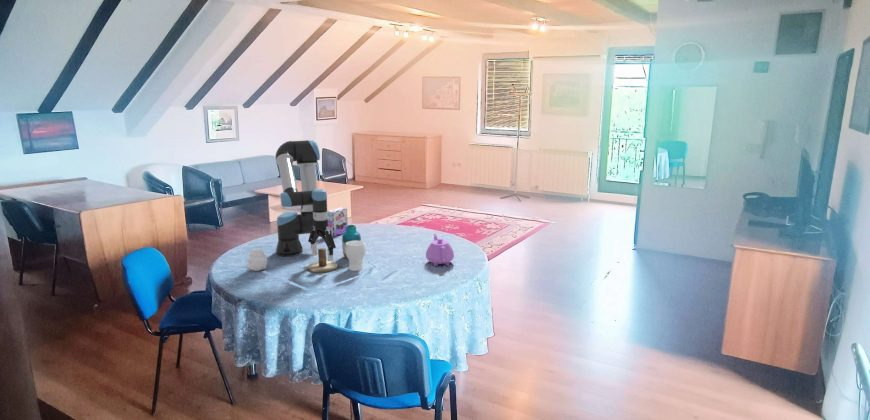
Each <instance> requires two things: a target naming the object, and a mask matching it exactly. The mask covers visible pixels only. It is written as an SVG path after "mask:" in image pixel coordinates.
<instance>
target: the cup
mask: <svg viewBox="0 0 870 420" xmlns="http://www.w3.org/2000/svg"><path fill="white" fill-rule="evenodd" d="M345 253H346V256H347V257H348V259H347V260H348V263H349V264H348V270H350V271H353V272H358V271H362V270H363V269H364V265H363V260H364V257H365V254H366V243H365V242H364V241H363V240H361V241H357V240H356V241H349V242H347V243H346V246H345Z"/></svg>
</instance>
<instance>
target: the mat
mask: <svg viewBox="0 0 870 420" xmlns="http://www.w3.org/2000/svg"><path fill="white" fill-rule="evenodd" d="M308 266H309V265H307V266H304V267H303V266H302V267H301V269H303V270H305V271H307V272H310V273H312V274H315V275H318V276H322V275H325V274H327V273H331V272H334V271H337V270H339V269H343V268H345V266H342V265H339V264H337V268H336V269H335V270H333V271H329V272H322V273H318V272H312V271H310V270H309V269H308Z"/></svg>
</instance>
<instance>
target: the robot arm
mask: <svg viewBox="0 0 870 420" xmlns="http://www.w3.org/2000/svg"><path fill="white" fill-rule="evenodd" d="M320 155H321V154H320V149H319V146H318V143H317V141H315V140H308V139H306V140H289V141H285V142H284V143H282V144H281V145H279V147H278V148H277V150H276V153H275V158H274V159H275V163H276V165H277V166H278V169H279V170H278V171H279V176H280V180H281V187H282V192H281V193H280V196H279V197H280V205H281V206H282V207H283V208H284V207H286V208H287V207H288V208H289V207H299V206H302V209H301V210H300V214H299V213H298V212H296V211H290V212H289V211H288V212H284V213H282V214H279V215H278V216H277V217H276V226H277V239H278V240H277V244H276V247H275V248H276V249H275V254H276V255H277V256H279V257H294V256H297V255H301V254H302V253H303V252H304V251H303V249H304V247H303V246H302V243H301V241H300V235H309V237H308V241H307V242H308V243H309V244H310V247H311V256H312V257H315V256H318V247H317V241H318V239H319V237H320V238H322V239H323V241H324V242H325V245H326V246H327V249H326V251H327V261H332V262H333V261H334V249H336V247H337V246H336V244H335V241H334V238H333V236H332V234H331V230H327V226H328V219H327V218H328V212H327V211H328V196H327V195H328V194H327V191H326V189H323V188H318V189H317V176H316V175H317V174H316V166H317V164H318V161H319V160H320V159H321V156H320ZM294 162H296V165H297V166H298V167H299V169H300V171H299V172H300V184H301V185H300V186H301V191H299V189H298V185H297V178H296V176H295V170H294V169H295V168H294V166H293V163H294Z"/></svg>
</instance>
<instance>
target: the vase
mask: <svg viewBox="0 0 870 420" xmlns="http://www.w3.org/2000/svg"><path fill="white" fill-rule="evenodd" d="M341 237H342V238H341V247H342V248H341V249H342V254H343V256H344V258H345V259H347V260H349V259H348V257H347V256H346V253H345V246H346V243H347V242H349V241H356V240H357V241H362V238H361V237H362V236H361V234H360V232H359V231H357V226H356V225H355V224H348V225H347V226H346V232H345V233H343V234H342V236H341Z"/></svg>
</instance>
